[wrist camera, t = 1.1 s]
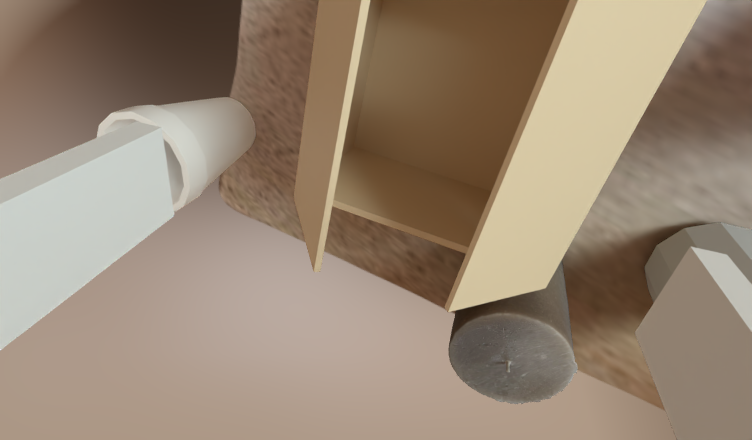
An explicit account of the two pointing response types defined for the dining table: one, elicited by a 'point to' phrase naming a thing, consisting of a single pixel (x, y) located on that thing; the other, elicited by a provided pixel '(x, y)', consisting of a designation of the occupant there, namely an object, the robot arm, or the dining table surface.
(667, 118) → the dining table surface
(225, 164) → the foam cup
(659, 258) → the jar
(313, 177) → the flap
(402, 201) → the carton
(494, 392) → the pillar candle
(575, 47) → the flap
